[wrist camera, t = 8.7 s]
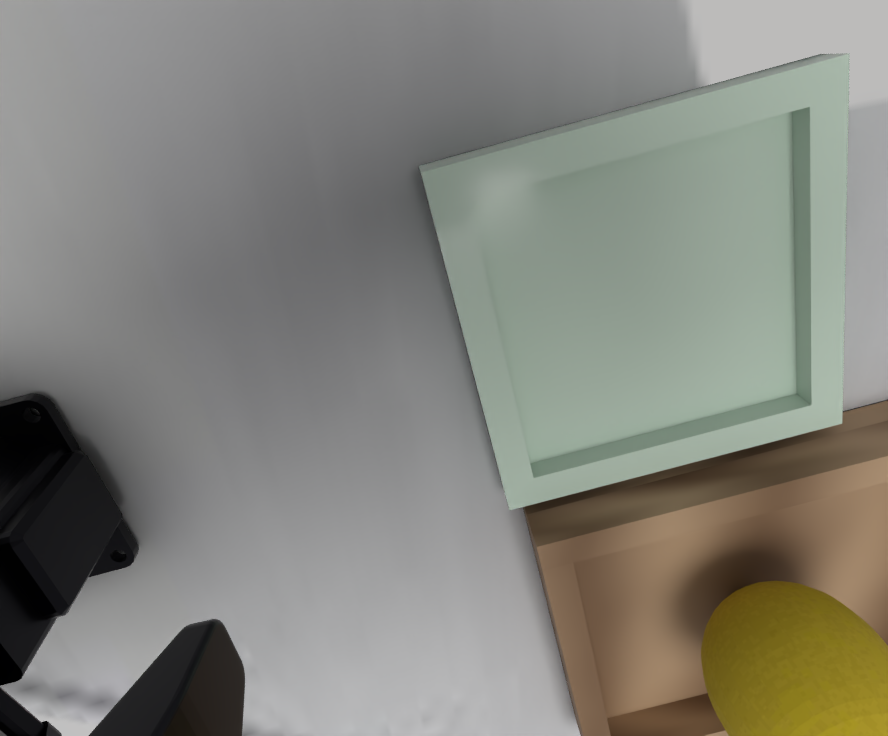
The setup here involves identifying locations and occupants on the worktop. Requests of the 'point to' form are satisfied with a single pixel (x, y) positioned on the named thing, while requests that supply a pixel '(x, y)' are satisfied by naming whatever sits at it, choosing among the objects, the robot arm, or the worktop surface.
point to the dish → (654, 278)
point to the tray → (705, 564)
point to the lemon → (794, 665)
